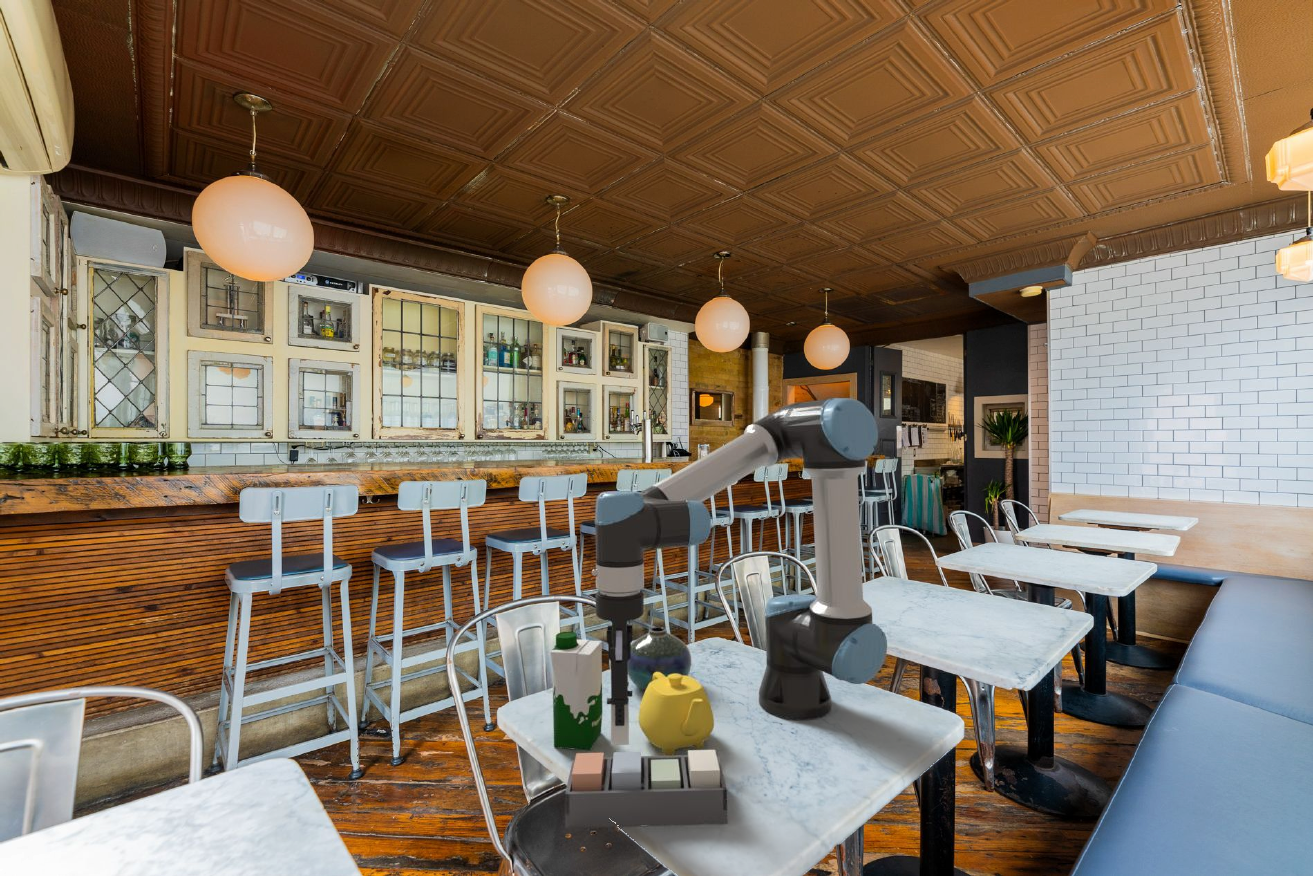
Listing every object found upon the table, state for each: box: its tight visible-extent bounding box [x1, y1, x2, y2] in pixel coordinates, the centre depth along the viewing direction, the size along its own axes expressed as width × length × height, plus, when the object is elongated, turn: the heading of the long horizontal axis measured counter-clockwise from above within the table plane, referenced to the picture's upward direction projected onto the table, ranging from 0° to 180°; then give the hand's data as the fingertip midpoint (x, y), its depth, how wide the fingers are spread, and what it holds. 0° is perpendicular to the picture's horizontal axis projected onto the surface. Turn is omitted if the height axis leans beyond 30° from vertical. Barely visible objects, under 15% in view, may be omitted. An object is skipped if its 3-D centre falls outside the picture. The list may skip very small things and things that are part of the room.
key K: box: [612, 751, 642, 791], centre depth 92 cm, size 4×6×3 cm
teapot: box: [638, 672, 715, 756], centre depth 111 cm, size 13×20×12 cm
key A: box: [687, 749, 720, 788], centre depth 92 cm, size 4×6×3 cm
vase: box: [628, 626, 692, 691], centre depth 137 cm, size 15×15×13 cm
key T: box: [651, 759, 681, 789], centre depth 92 cm, size 4×6×3 cm
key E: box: [572, 752, 605, 792], centre depth 92 cm, size 4×6×3 cm
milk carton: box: [549, 631, 603, 751], centre depth 113 cm, size 9×9×20 cm
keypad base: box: [564, 753, 729, 829], centre depth 92 cm, size 24×10×5 cm, turn 91°
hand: (620, 742), depth 92 cm, fingers closed
